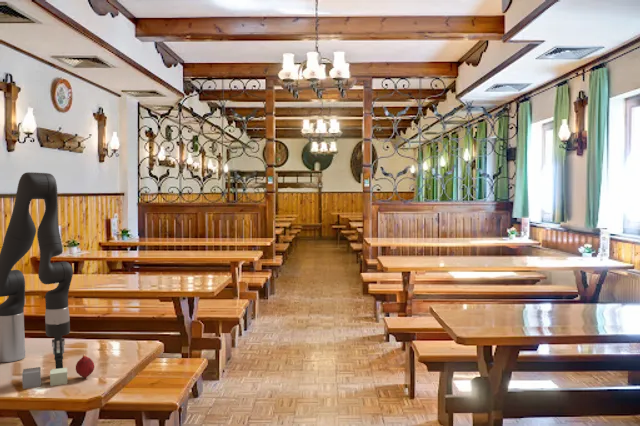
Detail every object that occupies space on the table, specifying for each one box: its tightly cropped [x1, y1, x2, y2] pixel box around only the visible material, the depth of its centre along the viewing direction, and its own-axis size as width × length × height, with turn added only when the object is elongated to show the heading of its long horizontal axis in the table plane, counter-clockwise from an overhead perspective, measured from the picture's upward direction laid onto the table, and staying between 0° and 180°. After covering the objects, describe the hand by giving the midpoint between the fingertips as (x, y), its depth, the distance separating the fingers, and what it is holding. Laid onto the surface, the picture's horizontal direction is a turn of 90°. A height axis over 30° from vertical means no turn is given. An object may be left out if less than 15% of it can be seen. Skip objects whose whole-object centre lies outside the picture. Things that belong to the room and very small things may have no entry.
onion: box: [75, 354, 95, 379], centre depth 189 cm, size 6×6×8 cm
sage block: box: [49, 367, 69, 387], centre depth 185 cm, size 5×5×4 cm
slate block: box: [21, 366, 42, 390], centre depth 183 cm, size 5×5×5 cm
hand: (59, 370), depth 192 cm, fingers closed
